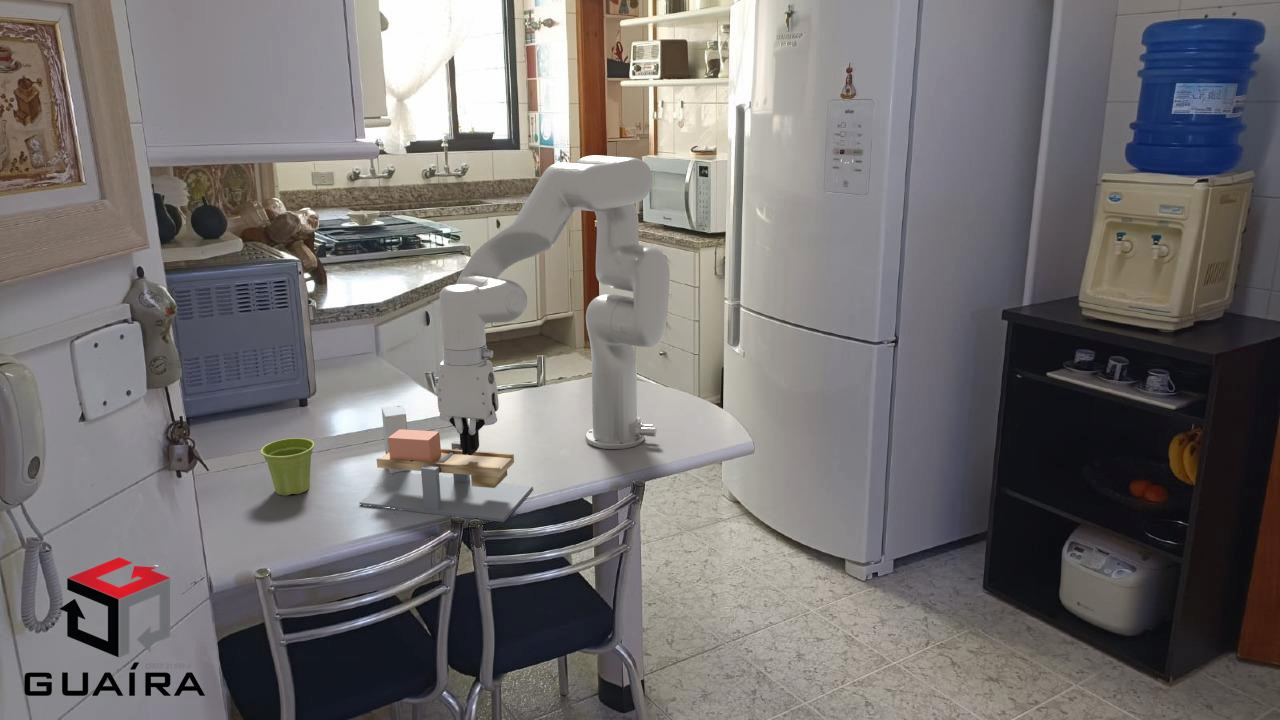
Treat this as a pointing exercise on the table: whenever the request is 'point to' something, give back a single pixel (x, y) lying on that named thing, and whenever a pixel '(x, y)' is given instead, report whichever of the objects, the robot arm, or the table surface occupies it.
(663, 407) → the table surface
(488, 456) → the beam
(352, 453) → the table surface
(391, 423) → the skincare box
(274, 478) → the plant pot
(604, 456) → the table surface
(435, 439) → the block
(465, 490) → the stand
